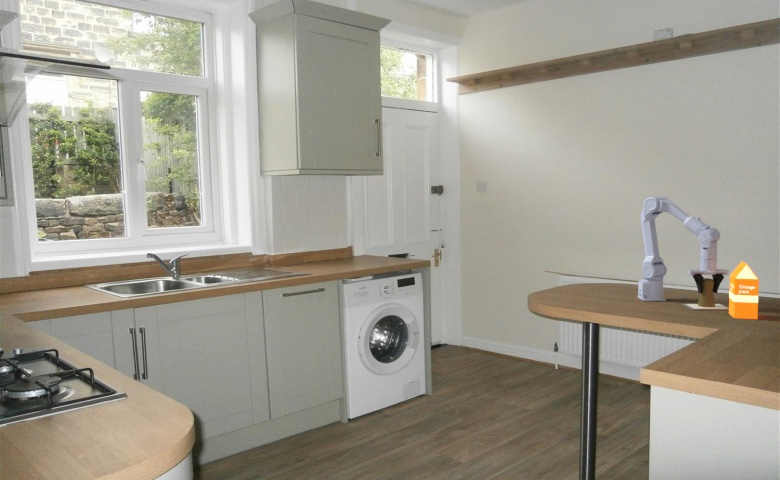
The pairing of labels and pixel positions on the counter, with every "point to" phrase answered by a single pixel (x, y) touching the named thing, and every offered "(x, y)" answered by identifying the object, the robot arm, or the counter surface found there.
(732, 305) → the orange juice
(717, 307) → the notepad
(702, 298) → the cork
